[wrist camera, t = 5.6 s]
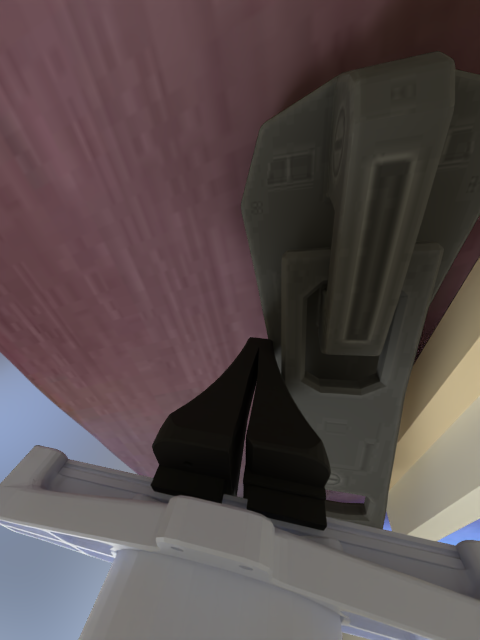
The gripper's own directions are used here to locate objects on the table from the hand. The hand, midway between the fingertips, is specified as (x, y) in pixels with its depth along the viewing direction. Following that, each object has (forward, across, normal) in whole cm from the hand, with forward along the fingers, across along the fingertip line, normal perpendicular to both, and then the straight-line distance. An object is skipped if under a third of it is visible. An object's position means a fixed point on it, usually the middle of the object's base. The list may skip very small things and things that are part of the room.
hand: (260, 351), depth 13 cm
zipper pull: (+3, -4, +1) cm, 5 cm away
